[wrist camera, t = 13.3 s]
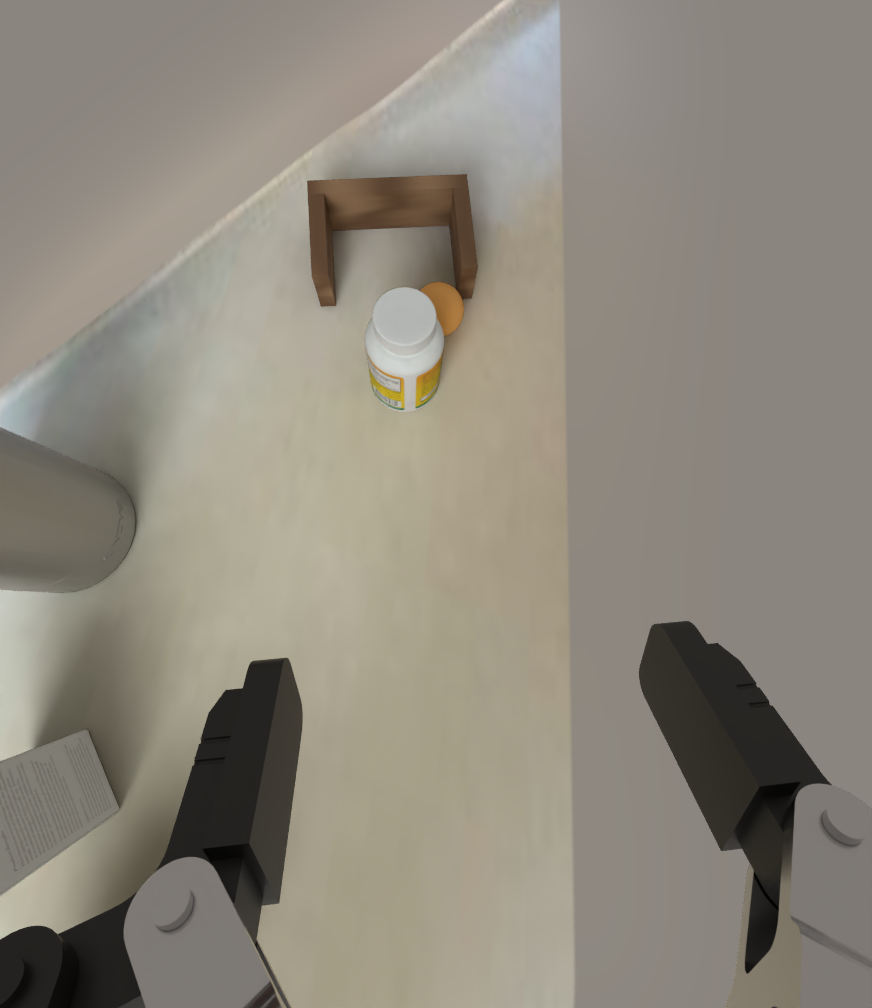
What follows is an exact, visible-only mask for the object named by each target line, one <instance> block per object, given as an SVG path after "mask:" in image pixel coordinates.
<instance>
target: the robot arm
mask: <svg viewBox="0 0 872 1008" xmlns="http://www.w3.org/2000/svg"><path fill="white" fill-rule="evenodd" d="M134 532H135V514H134V508H133V505H132V502H131V500H130V497H129V496H128V494H127V493H126V491H125V490H124V488H123V487H122V486H121V485H120V484H119V483H118V482H117V481H116V480H115V479H114V478H112V477H110V476H108V475H106V474H105V473H103V472H101V471H98V470H96V469H94V468H92V467H89V466H87V465H85V464H82V463H80V462H78V461H76V460H73V459H71V458H69V457H67V456H65V455H63V454H60V453H58V452H56V451H53V450H51V449H49V448H47V447H44V446H42V445H40V444H37V443H35V442H33V441H31V440H28V439H26V438H24V437H21V436H19V435H17V434H15V433H12V432H10V431H8V430H5V429H3V428H1V427H0V590H13V591H33V592H55V593H65V592H74V591H78V590H82V589H85V588H88V587H91V586H92V585H94V584H96V583H98V582H100V581H102V580H103V579H104V578H106V577H107V576H108V575H109V574H111V573H112V572H113V571H114V570H115V569H116V568H117V567H118V565H119V564H120V563H121V562H122V561H123V559H124V558H125V556H126V554H127V552H128V550H129V549H130V546H131V543H132V540H133V537H134ZM639 679H640V685H641V689H642V692H643V694H644V697H645V699H646V701H647V703H648V705H649V707H650V709H651V711H652V713H653V715H654V717H655V719H656V721H657V723H658V725H659V727H660V729H661V731H662V733H663V735H664V737H665V739H666V741H667V743H668V745H669V747H670V749H671V751H672V753H673V755H674V757H675V759H676V761H677V763H678V765H679V767H680V769H681V771H682V773H683V775H684V777H685V779H686V781H687V783H688V785H689V787H690V789H691V791H692V793H693V795H694V797H695V799H696V801H697V803H698V805H699V807H700V809H701V811H702V813H703V815H704V817H705V819H706V821H707V823H708V825H709V827H710V829H711V831H712V833H713V835H714V837H715V839H716V841H717V843H718V845H719V848H720V849H721V851H726V850H733V849H743V851H744V853H745V855H746V857H747V859H748V860H749V862H750V864H749V866H748V870H747V875H746V876H747V877H746V885H745V893H744V894H745V895H744V903H743V911H742V920H741V929H740V930H741V931H740V938H739V947H738V957H737V965H736V972H735V978H734V982H733V986H732V989H731V991H730V994H729V996H728V999H727V1003H726V1006H725V1008H872V809H871V808H870V807H869V806H868V805H867V804H866V803H864V802H863V801H862V800H860V799H859V798H858V797H856V796H854V795H853V794H851V793H849V792H847V791H845V790H843V789H840V788H838V787H835V786H832V785H831V784H830V783H829V782H828V781H827V779H826V778H825V777H824V776H823V775H822V773H821V772H820V770H819V769H818V768H817V766H816V765H815V764H814V762H813V761H812V759H811V758H810V757H809V755H808V754H807V753H806V751H805V750H804V748H803V747H802V746H801V744H800V743H799V742H798V740H797V739H796V737H795V736H794V735H793V733H792V732H791V730H790V729H789V728H788V726H787V725H786V724H785V722H784V721H783V719H782V718H781V717H780V715H779V714H778V713H777V711H776V710H775V708H774V707H773V706H770V704H769V700H768V699H767V698H766V696H765V695H764V693H763V692H762V690H761V689H760V688H758V687H757V686H756V682H755V681H754V680H753V678H752V677H751V675H750V674H749V672H748V671H747V670H746V668H745V667H744V666H743V664H742V663H741V662H740V661H739V660H738V659H737V658H736V657H734V656H733V655H732V654H731V653H729V652H728V651H727V650H725V649H724V648H723V647H722V646H720V645H719V644H718V643H715V644H707V643H706V641H705V640H704V638H703V637H702V635H701V634H700V632H699V631H698V629H697V628H696V627H695V625H693V624H692V623H691V622H689V621H683V622H671V623H661V624H654V625H653V626H652V627H651V629H650V632H649V636H648V639H647V643H646V646H645V650H644V654H643V657H642V661H641V664H640V668H639ZM301 733H302V704H301V699H300V695H299V692H298V688H297V685H296V681H295V678H294V674H293V671H292V667H291V664H290V661H289V659H288V658H280V659H269V660H259V661H252V662H251V663H250V665H249V667H248V670H247V674H246V678H245V682H244V686H243V688H242V689H232V690H225V692H224V693H223V694H222V696H221V697H220V699H219V700H218V701H217V703H216V704H215V705H214V707H213V708H212V709H211V711H210V712H209V714H208V717H207V720H206V724H205V727H204V730H203V734H202V737H201V744H199V747H198V750H197V753H196V757H195V760H194V761H195V764H194V766H192V770H191V773H190V776H189V780H188V783H187V786H186V789H185V793H184V796H183V799H182V803H181V806H180V809H179V812H178V816H177V819H176V822H175V825H174V829H173V832H172V835H171V839H170V842H169V845H168V848H167V851H166V853H165V856H164V858H163V860H162V862H161V864H160V865H159V867H158V868H157V870H156V871H155V873H154V874H153V875H151V876H150V877H149V878H148V879H147V881H146V882H145V883H144V884H143V885H142V886H141V888H140V889H139V890H138V892H136V893H135V894H134V895H133V896H132V897H130V898H129V899H128V900H126V901H125V902H123V903H122V904H120V905H118V906H116V907H114V908H113V909H110V910H108V911H106V912H104V913H102V914H100V915H98V916H96V917H94V918H91V919H89V920H87V921H85V922H83V923H81V924H79V925H77V926H75V927H72V928H70V929H68V930H66V931H64V932H62V933H60V934H57V933H55V932H54V931H53V930H52V929H50V928H47V927H44V926H30V927H26V928H23V929H20V930H17V931H15V932H13V933H11V934H9V935H7V936H6V937H4V938H2V939H1V940H0V1008H292V1007H291V1005H290V1003H289V1001H288V999H287V997H286V995H285V993H284V991H283V989H282V987H281V985H280V983H279V981H278V979H277V977H276V975H275V973H274V971H273V969H272V967H271V965H270V963H269V961H268V959H267V957H266V955H265V953H264V951H263V949H262V947H261V945H260V944H259V942H258V940H257V932H258V926H259V919H260V913H261V907H262V905H270V904H278V903H279V900H280V892H281V885H282V877H283V870H284V862H285V854H286V847H287V839H288V832H289V824H290V817H291V809H292V801H293V794H294V786H295V779H296V771H297V764H298V756H299V748H300V741H301Z"/></svg>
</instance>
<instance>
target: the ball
mask: <svg viewBox="0 0 872 1008" xmlns="http://www.w3.org/2000/svg"><path fill="white" fill-rule="evenodd" d="M420 291H421V292H423V293H424V294H425V295H427V296H428V297H429V299H430V300H431V301H432V303H433V305H434V307H435V310H436V315H437V319H438V321H439V323H440V325H441V327H442V330H443V334H444V336H446V335H448V334H450V333H452V332H453V331H455V330H456V329H457V327H458V326H459V325H460V323H461V321H462V318H463V314H464V305H463V301H462V298H461V296H460V294H459V293H458V291H457V290H456V289H455V288H454V287H452V286H451V285H449V284H446V283H442V282H434V283H430V284H428V285H426V286H425V287H423V288H422V289H421V290H420Z"/></svg>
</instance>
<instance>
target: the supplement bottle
mask: <svg viewBox="0 0 872 1008" xmlns="http://www.w3.org/2000/svg"><path fill="white" fill-rule="evenodd" d="M365 347H366V354H367V360H368V366H369V373H370V378H371V385H372V389H373V391H374V394H375V395H376V397H377V399H378V400H379V401H380V402H381V403H382V404H383V405H385V406H386V407H388V408H389V409H392V410H394V411H398V412H412V411H416V410H418V409H421V408H423V407H424V406H425V405H427V404H428V403H429V402H430V401H431V400H432V398H433V397H434V395H435V393H436V391H437V389H438V384H439V377H440V369H441V363H442V356H443V349H444V334H443V330H442V327H441V325H440V323H439V321H438V319H437V315H436V310H435V307H434V305H433V303H432V301H431V300H430V299H429V297H428V296H427V295H425V294H424V293H423V292H421V291H419V290H417V289H414V288H409V287H399V288H394V289H391V290H389V291H387V292H386V293H384V294H383V295H382V296H381V297H380V298H379V299H378V300H377V302H376V304H375V306H374V309H373V314H372V319H371V320H370V322H369V323H368V326H367V329H366V333H365Z"/></svg>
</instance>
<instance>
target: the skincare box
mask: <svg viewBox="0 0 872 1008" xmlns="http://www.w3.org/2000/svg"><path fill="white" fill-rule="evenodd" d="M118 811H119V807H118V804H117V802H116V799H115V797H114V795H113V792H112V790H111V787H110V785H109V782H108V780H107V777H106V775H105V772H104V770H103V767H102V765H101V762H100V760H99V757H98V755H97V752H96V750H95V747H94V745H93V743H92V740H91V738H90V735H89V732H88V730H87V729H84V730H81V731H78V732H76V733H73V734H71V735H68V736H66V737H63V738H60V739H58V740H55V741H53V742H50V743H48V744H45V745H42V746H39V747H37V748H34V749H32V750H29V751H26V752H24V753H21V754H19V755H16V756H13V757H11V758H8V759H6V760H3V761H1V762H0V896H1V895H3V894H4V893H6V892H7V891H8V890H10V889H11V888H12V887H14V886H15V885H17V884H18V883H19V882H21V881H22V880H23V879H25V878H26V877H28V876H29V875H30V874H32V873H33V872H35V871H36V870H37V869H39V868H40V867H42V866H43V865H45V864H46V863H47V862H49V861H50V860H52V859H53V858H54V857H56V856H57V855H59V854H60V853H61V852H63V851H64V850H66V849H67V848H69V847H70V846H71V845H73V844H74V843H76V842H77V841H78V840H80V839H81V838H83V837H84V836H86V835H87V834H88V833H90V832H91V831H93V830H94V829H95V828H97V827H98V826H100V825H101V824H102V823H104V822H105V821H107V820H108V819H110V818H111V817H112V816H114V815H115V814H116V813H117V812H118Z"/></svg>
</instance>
